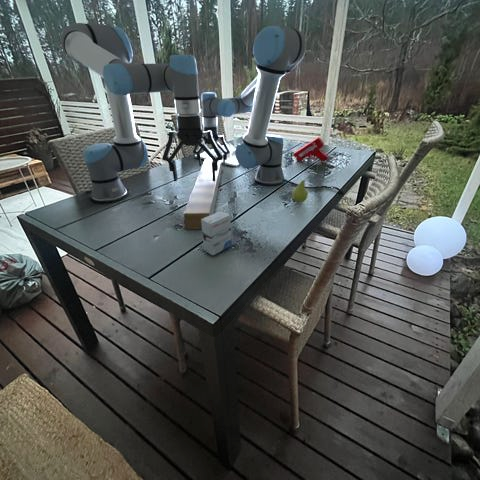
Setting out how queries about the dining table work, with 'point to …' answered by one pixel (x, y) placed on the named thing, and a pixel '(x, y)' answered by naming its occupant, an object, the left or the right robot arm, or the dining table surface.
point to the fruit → (300, 192)
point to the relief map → (230, 156)
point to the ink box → (216, 232)
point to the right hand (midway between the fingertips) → (212, 165)
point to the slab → (202, 196)
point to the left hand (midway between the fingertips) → (195, 180)
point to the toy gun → (312, 151)
